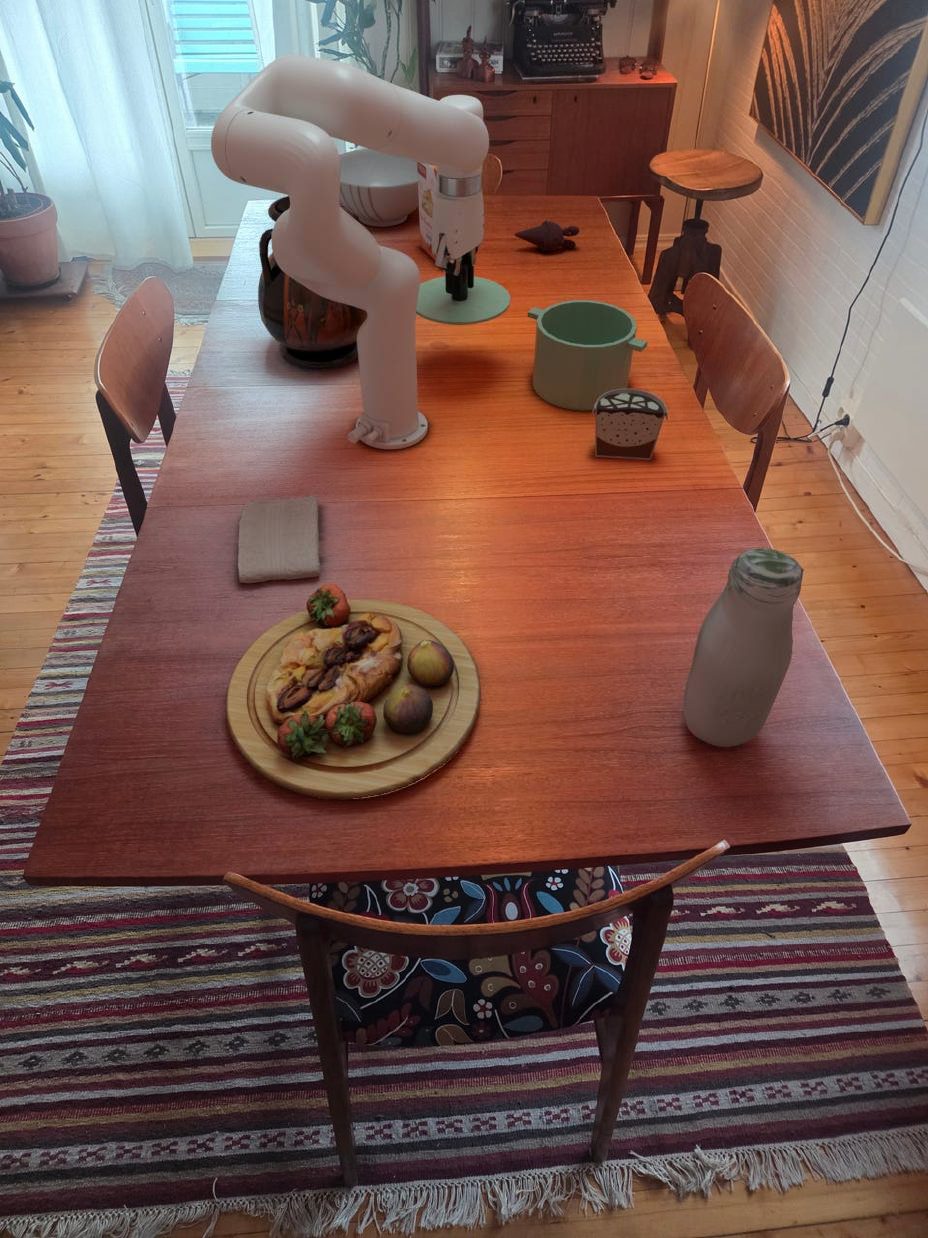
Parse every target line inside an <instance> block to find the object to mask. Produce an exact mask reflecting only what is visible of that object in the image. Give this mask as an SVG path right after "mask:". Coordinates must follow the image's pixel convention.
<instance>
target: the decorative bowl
mask: <svg viewBox="0 0 928 1238" xmlns="http://www.w3.org/2000/svg"><path fill="white" fill-rule="evenodd" d="M339 157H340V163H341V177H340V196H339V203H340V204H341V206H343V207H344V208H345V209H346V210H347V211H348V212H350V213H351V214H353V215H354V216H356V217H357V218H358V220H359V222H360V223H361V224H365V225H368V226H370V227H379V228H383V227H384V228H385V227H393V226H397V225H400V224H402V223H403V222H406V220H407V219H408V215H410V214H412V213H413V212H414V211H415V210H417V209H418V208H419V194H418V169H417V162H415V161H412V160H409V159H408V158H405V157H399V156H394V155H390V154H386V153H381V152H377V151H374V150H372V149H368V148H363V149H355V150H351V151H347V152H343V153H341V154H339Z"/></svg>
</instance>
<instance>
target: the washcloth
mask: <svg viewBox="0 0 928 1238" xmlns="http://www.w3.org/2000/svg"><path fill="white" fill-rule="evenodd" d="M319 535H320V533H319V499H318V498H317V497H315V496H311V495H304V496H302V497H295V498H294V497H293V498H277V499H276V498H271V499H270V498H268V499H258V500H257V499H256V500H254V499H253V500H250V501H248V502H246V503H245V504H243V506H242V510H241V516H240V519H239V521H238V541H237V544H238V545H237V547H238V554H237V555H238V556H237V569H238V580H239V583H244V584H254V583H260V582H261V583H265V582H268V581H276V580H287V581H290V580H299V579H307V578H316V577H319V576H321V575H322V573H321V569H320V568H321V561H320V540H319V539H320V537H319Z"/></svg>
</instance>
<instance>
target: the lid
mask: <svg viewBox="0 0 928 1238" xmlns="http://www.w3.org/2000/svg"><path fill="white" fill-rule="evenodd" d="M452 264H453V265H454V263H452ZM460 274H462V295H461V296H455V295H452V294H449V293H447V292H446V287H445V276H440V277H435V278H432V279H428V280H426V281H424V282H420V288H419V294H418V300H417V308H416V315H418V316H419V317H421V318H422V319H425V320H428V321H430V322H432V323H433V322H434V323H437V324H441V325H451V326H468V325H469V326H470V325H476V324H482V323H486V322H490V321H491V320H495V319H496V318H499V317H500V316H502V315H503V314H504V313H506V312H507V310H508V309H509V307H510V305H511V295H510V293H509V291H508V290H507V289H506V288H505V287H504V286H503V285H502V284H499V283H498V282H497V281H493V280H491V279H488V278H484V277H480V276H474V287H473V288H468V264H467V263H465V262H460Z"/></svg>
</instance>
